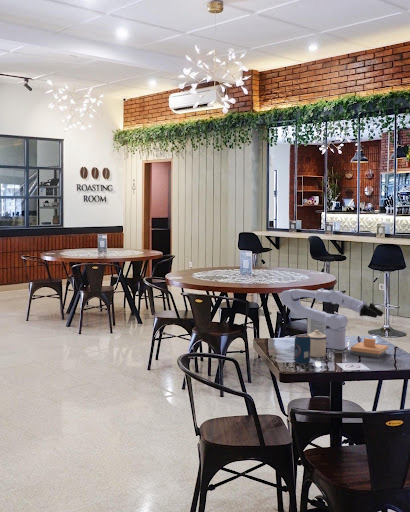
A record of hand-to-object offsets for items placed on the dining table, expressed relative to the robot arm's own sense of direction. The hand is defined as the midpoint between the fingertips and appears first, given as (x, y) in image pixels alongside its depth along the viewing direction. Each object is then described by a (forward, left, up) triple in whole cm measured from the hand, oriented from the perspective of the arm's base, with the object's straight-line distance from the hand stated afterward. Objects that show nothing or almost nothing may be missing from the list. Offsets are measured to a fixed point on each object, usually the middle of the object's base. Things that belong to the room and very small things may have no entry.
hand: (379, 315), depth 298 cm
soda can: (-22, -37, -19) cm, 47 cm away
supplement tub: (-35, +11, -19) cm, 41 cm away
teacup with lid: (-24, -20, -19) cm, 37 cm away
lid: (-3, -3, -16) cm, 17 cm away
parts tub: (-3, -3, -18) cm, 19 cm away
